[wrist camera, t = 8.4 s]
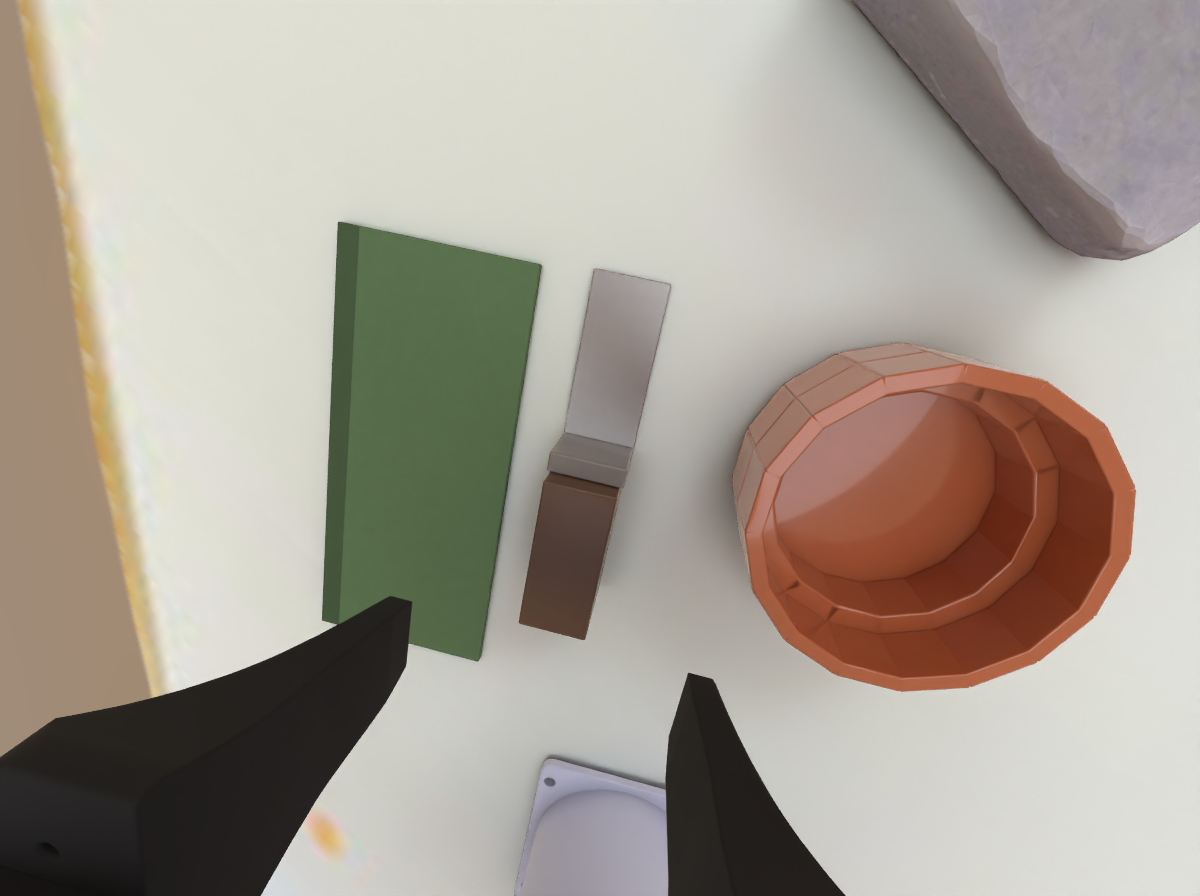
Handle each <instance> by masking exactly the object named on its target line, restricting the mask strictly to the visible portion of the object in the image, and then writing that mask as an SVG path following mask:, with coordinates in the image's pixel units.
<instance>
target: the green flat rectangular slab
mask: <svg viewBox="0 0 1200 896" xmlns="http://www.w3.org/2000/svg"><path fill="white" fill-rule="evenodd" d="M540 273H541V265H540V264H536V263H531V262H526V261H522V260H517V259H512V258H507V257H503V256H498V255H493V254H489V253H484V252H479V251H475V250H470V249H465V248H461V247H456V246H451V245H447V244H442V243H437V242H433V241H428V240H423V239H419V238H414V237H409V236H404V235H400V234H395V233H390V232H386V231H381V230H376V229H372V228H367V227H362V226H358V225H353V224H348V223H344V222H338V233H337V258H336V283H335V308H334V334H333V359H332V384H331V409H330V434H329V459H328V484H327V509H326V535H325V560H324V585H323V610H322V620H323V621H326V622H330V623H334V624H337V625H338V624H340V623H342V622H344V621H346V620H347V619H349V618H351V617H353V616H355V615H356V614H358V613H360V612H362V611H363V610H365V609H367V608H369V607H371V606H372V605H374V604H376V603H378V602H379V601H381V600H383V599H385V598H387V597H389V596H393V597H397V598H401V599H405V600H409V601H413V602H412V612H411V622H410V632H409V642H408V643H410V644H414V645H418V646H421V647H425V648H429V649H433V650H436V651H440V652H444V653H448V654H451V655H455V656H459V657H463V658H466V659H470V660H474V661H479V659H480V657H481V651H482V644H483V638H484V632H485V625H486V619H487V612H488V606H489V600H490V593H491V587H492V580H493V574H494V567H495V561H496V555H497V548H498V542H499V535H500V529H501V523H502V516H503V510H504V503H505V497H506V491H507V484H508V478H509V471H510V465H511V458H512V452H513V446H514V439H515V433H516V426H517V420H518V414H519V407H520V401H521V394H522V388H523V382H524V375H525V369H526V362H527V356H528V349H529V343H530V337H531V330H532V324H533V317H534V311H535V305H536V298H537V292H538V285H539V279H540Z"/></svg>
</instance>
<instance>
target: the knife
mask: <svg viewBox="0 0 1200 896" xmlns="http://www.w3.org/2000/svg"><path fill="white" fill-rule="evenodd" d="M670 288H671V284H667V283H662V282H657V281H653V280H648V279H643V278H638V277H634V276H629V275H624V274H620V273H615V272H610V271H605V270H601V269H594V273H593V278H592V284H591V289H590V294H589V300H588V305H587V311H586V316H585V321H584V327H583V332H582V337H581V343H580V348H579V354H578V359H577V364H576V370H575V375H574V381H573V386H572V391H571V397H570V402H569V408H568V413H567V418H566V424H565V429H564V432H565V433H564V434H563V435H562V437H561V438H560V440H559V441H558V442H557V444H556V445H555V447H554V448H553V449H552V451H551V452H550V455H549V461H548V466H547V470H548V471H550V473H549V474H548V476H547V477H546V479H545V480H544V482H543V488H542V494H541V499H540V505H539V510H538V516H537V522H536V527H535V533H534V538H533V544H532V550H531V555H530V561H529V567H528V572H527V578H526V583H525V589H524V595H523V600H522V606H521V611H520V617H519V623H520V624H523V625H527V626H531V627H535V628H539V629H543V630H547V631H550V632H554V633H558V634H562V635H566V636H570V637H574V638H577V639H581V640H585V638H586V635H587V631H588V627H589V623H590V619H591V615H592V611H593V608H594V604H595V600H596V596H597V592H598V588H599V584H600V580H601V575H602V571H603V567H604V562H605V558H606V553H607V549H608V545H609V540H610V536H611V532H612V527H613V523H614V519H615V514H616V510H617V505H618V501H619V497H620V492H621V488H623V487H624V484H625V480H626V476H627V472H628V469H629V465H630V461H631V457H632V452H633V447H634V444H635V439H636V435H637V431H638V426H639V422H640V418H641V413H642V409H643V405H644V400H645V396H646V392H647V387H648V383H649V379H650V374H651V370H652V366H653V361H654V357H655V353H656V348H657V344H658V340H659V335H660V331H661V327H662V322H663V318H664V314H665V310H666V305H667V301H668V297H669V292H670Z"/></svg>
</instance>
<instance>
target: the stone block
mask: <svg viewBox="0 0 1200 896" xmlns="http://www.w3.org/2000/svg"><path fill="white" fill-rule="evenodd" d="M853 1H854V3H855V4H856V5H857V6H858V8H859V9H860V10H861V11H862V12H863V13H864V15H865V16H866V17H867V18H868V19H869V20H870V22H871V23H872V24H873V25H874V26H875V28H876V29H877V30H878V31H879V32H880V34H881V35H882V36H883V37H884V38H885V39H886V41H887V42H888V43H889V44H890V45H891V46H892V47H893V48H894V50H895V51H896V52H897V53H898V54H899V55H900V57H901V58H902V59H903V60H904V61H905V63H906V64H907V65H908V66H909V67H910V69H911V70H912V71H913V72H914V73H915V75H916V76H917V77H918V78H919V80H920V81H921V82H922V83H923V84H924V86H925V87H926V88H927V89H928V90H929V91H930V93H931V94H932V95H933V96H934V97H935V99H936V100H937V101H938V102H939V103H940V105H941V106H942V107H943V108H944V109H945V110H946V111H947V112H948V114H949V115H950V116H951V117H952V118H953V119H954V121H955V122H956V123H957V124H958V125H959V126H960V128H961V129H962V130H963V131H964V133H965V134H966V136H967V137H968V138H969V140H970V141H971V142H972V143H973V144H974V145H975V147H976V148H977V149H978V150H979V151H980V152H981V154H982V155H983V156H984V157H985V158H986V159H987V160H988V161H989V162H990V164H991V165H992V166H994V167H995V168H996V169H997V170H998V172H999V173H1000V175H1001V177H1002V178H1003V180H1004V182H1005V183H1006V184H1007V185H1008V186H1009V187H1010V188H1011V189H1012V190H1013V192H1014V193H1015V194H1016V195H1017V197H1018V198H1019V199H1020V200H1021V202H1022V203H1023V204H1024V205H1025V207H1026V208H1027V209H1028V210H1029V211H1030V212H1031V214H1032V216H1033V217H1034V218H1035V219H1036V220H1037V221H1038V222H1039V223H1040V224H1041V225H1042V226H1043V227H1044V229H1045V230H1046V232H1047V233H1048V234H1049V236H1050V237H1052V238H1053V239H1054V240H1055V241H1056V242H1057V243H1059V244H1060V245H1062V246H1064V247H1065V248H1067V249H1069V250H1071V251H1073V252H1075V253H1077V254H1079V255H1080V256H1085V257H1092V258H1100V259H1111V260H1126V259H1129V258H1132V257H1136V256H1139V255H1142V254H1145V253H1148V252H1151V251H1153V250H1155V249H1157V248H1159V247H1160V246H1162V245H1164V244H1166V243H1168V242H1170V241H1172V240H1173V239H1175V238H1177V237H1178V236H1180V235H1181V234H1183V233H1185V232H1186V231H1188V230H1189V229H1190V228H1192V227H1193V226H1195V225H1196V224H1198V223H1199V222H1200V0H853Z"/></svg>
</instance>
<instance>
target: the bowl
mask: <svg viewBox="0 0 1200 896" xmlns="http://www.w3.org/2000/svg"><path fill="white" fill-rule="evenodd" d="M784 385H785V386H784ZM784 385H783V386H782V387H781V388H780V389H779V390H778V391H777V393H776V394H775V395H774V396H773V397H772V399H771V400H770V401H769V402H768V404H767V405H766V406H765V407H764V408H763V410H762V411H761V412H760V413H759V415H758V416H757V417H756V418H755V419H754V421H753V422H752V423H751V424H750V426H749V427H748V430H747V431H746V433H745V436H744V439H743V443H742V446H741V449H740V453H739V456H738V459H737V463H736V466H735V469H734V473H733V476H732V488H733V495H734V503H735V510H736V517H737V525H738V530H739V534H740V539H741V543H742V547H743V552H744V557H745V561H746V565H747V570H748V574H749V579H750V583H751V588H752V590H753V593H754V594H755V596H756V598H757V599H758V601H759V602H760V604H761V605H762V607H763V608H764V610H765V611H766V613H767V615H768V616H769V618H770V619H771V621H772V622H773V624H774V625H775V627H776V628H777V630H778V631H779V633H780V635H781V636H782V638H783V639H784V640H785V641H786V642H788V643H789V644H791V645H792V646H793V647H795V648H796V649H798V650H799V651H801V652H802V653H804V654H805V655H807V656H808V657H810V658H811V659H813V660H814V661H816V662H817V663H819V664H820V665H821V666H823V667H824V668H826V669H827V670H829V671H830V672H832V673H833V674H836V675H837V676H841V677H845V678H849V679H853V680H857V681H861V682H864V683H868V684H872V685H876V686H880V687H884V688H888V689H892V690H896V691H901V692H903V691H921V690H938V689H956V688H969V686H970V687H973V686H975V685H978V684H981V683H983V682H986V681H989V680H991V679H994V678H997V677H1000V676H1002V675H1005V674H1008V673H1010V672H1013V671H1016V670H1019V669H1021V668H1024V667H1027V666H1029V665H1032V664H1035V663H1037V661H1040V660H1042V659H1043V658H1044V657H1045V656H1047V655H1048V654H1049V653H1050V652H1052V651H1053V650H1054V649H1055V648H1057V647H1058V646H1059V645H1060V644H1062V643H1063V642H1064V641H1066V640H1067V639H1068V638H1069V637H1071V636H1072V635H1073V634H1074V633H1076V632H1077V631H1078V630H1079V629H1081V628H1082V627H1083V626H1084V625H1086V624H1087V623H1088V622H1089V621H1091V620H1092V619H1093V618H1094V616H1096V615H1097V613H1098V611H1099V609H1100V608H1101V606H1102V604H1103V603H1104V601H1105V599H1106V597H1107V596H1108V594H1109V592H1110V591H1111V589H1112V587H1113V585H1114V584H1115V582H1116V580H1117V579H1118V577H1119V575H1120V574H1121V572H1122V570H1123V568H1124V567H1125V565H1126V563H1127V562H1128V560H1129V558H1130V557H1129V556H1130V555H1131V546H1132V533H1133V520H1134V508H1135V495H1136V490H1135V486H1134V483H1133V481H1132V479H1131V477H1130V475H1129V473H1128V471H1127V468H1126V466H1125V464H1124V462H1123V460H1122V458H1121V456H1120V453H1119V451H1118V449H1117V447H1116V445H1115V443H1114V440H1113V438H1112V436H1111V434H1110V432H1109V430H1108V428H1107V427H1106V426H1105V424H1104V423H1103V422H1102V421H1100V420H1099V419H1098V418H1096V417H1095V416H1094V415H1092V414H1091V413H1089V412H1088V411H1087V410H1085V409H1084V408H1083V407H1081V406H1080V405H1079V404H1077V403H1076V402H1075V401H1073V400H1072V399H1071V398H1069V397H1068V396H1067V395H1065V394H1064V393H1062V392H1061V391H1060V390H1058V389H1057V388H1056V387H1054V386H1053V385H1052V384H1050V383H1049V382H1048V381H1044V380H1043V379H1040V378H1036V377H1033V376H1030V375H1026V374H1023V373H1020V372H1016V371H1013V370H1009V369H1006V368H1003V367H999V366H995V365H993V364H989V363H986V362H983V361H979V360H976V359H972V358H969V357H966V356H962V355H959V354H954V353H949V352H945V351H940V350H935V349H930V348H926V347H921V346H916V345H912V344H907V343H902V344H901V343H895V344H889V345H883V346H877V347H871V348H865V349H859V350H853V351H847V352H841V353H839V354H835V355H833V356H832V357H830V358H828V359H826V360H825V361H823V362H821V363H819V364H818V365H816V366H814V367H812V368H811V369H809V370H807V371H805V372H804V373H802V374H800V375H798V376H797V377H795V378H793V379H791V380H790V381H788V382H786V383H785V384H784Z"/></svg>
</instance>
